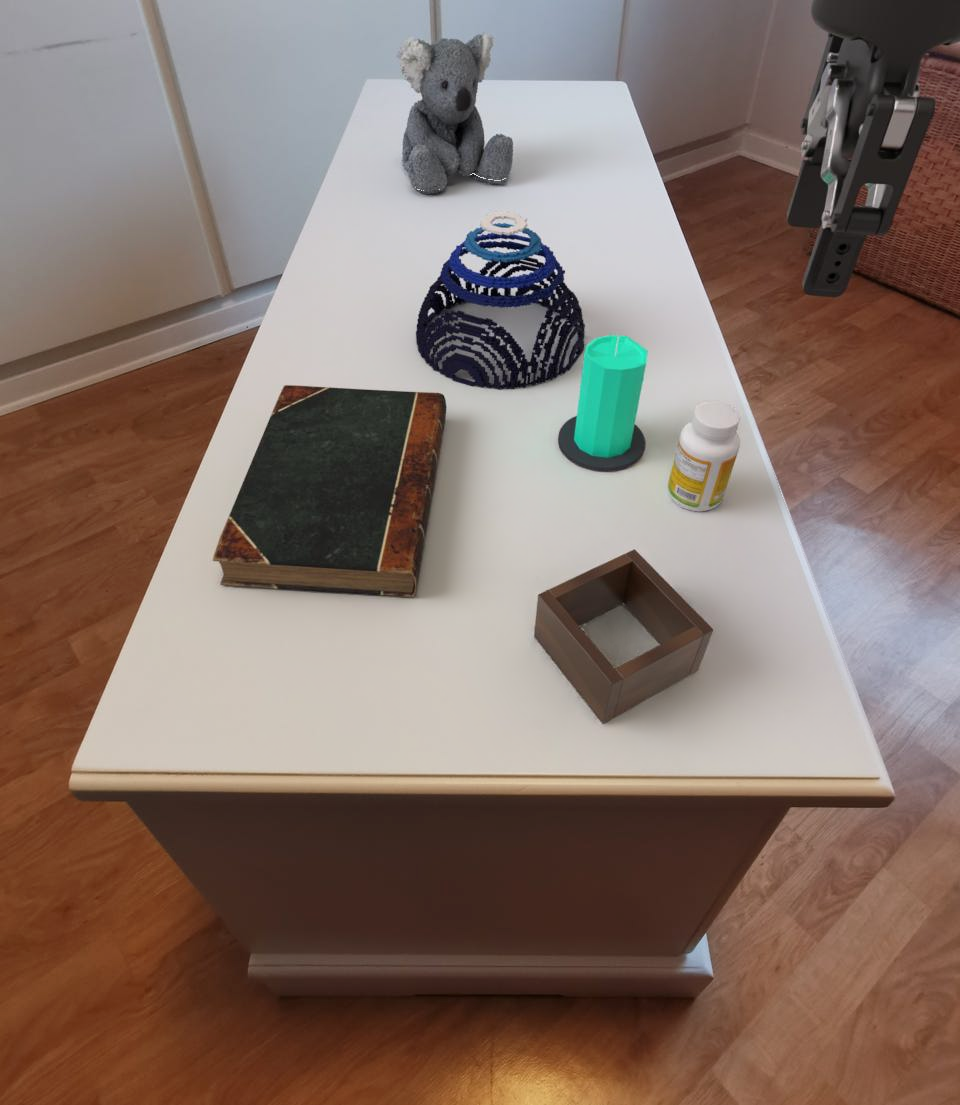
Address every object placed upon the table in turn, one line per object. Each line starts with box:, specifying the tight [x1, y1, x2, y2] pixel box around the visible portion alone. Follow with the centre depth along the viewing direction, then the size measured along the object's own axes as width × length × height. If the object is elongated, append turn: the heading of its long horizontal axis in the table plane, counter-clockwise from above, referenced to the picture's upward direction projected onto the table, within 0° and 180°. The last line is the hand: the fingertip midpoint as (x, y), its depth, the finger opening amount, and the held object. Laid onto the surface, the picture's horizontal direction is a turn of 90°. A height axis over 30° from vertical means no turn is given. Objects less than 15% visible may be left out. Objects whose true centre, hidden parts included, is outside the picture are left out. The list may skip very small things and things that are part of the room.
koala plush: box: [396, 31, 514, 195], centre depth 120 cm, size 17×18×20 cm
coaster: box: [557, 415, 646, 473], centre depth 81 cm, size 9×9×1 cm
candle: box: [574, 334, 649, 458], centre depth 76 cm, size 6×6×12 cm
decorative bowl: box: [415, 211, 586, 391], centre depth 88 cm, size 20×20×14 cm
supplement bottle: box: [667, 400, 741, 512], centre depth 72 cm, size 5×5×10 cm
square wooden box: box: [533, 548, 714, 725], centre depth 61 cm, size 10×10×6 cm
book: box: [212, 384, 447, 598], centre depth 74 cm, size 17×4×25 cm
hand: (811, 256), depth 46 cm, fingers open, 8 cm apart
